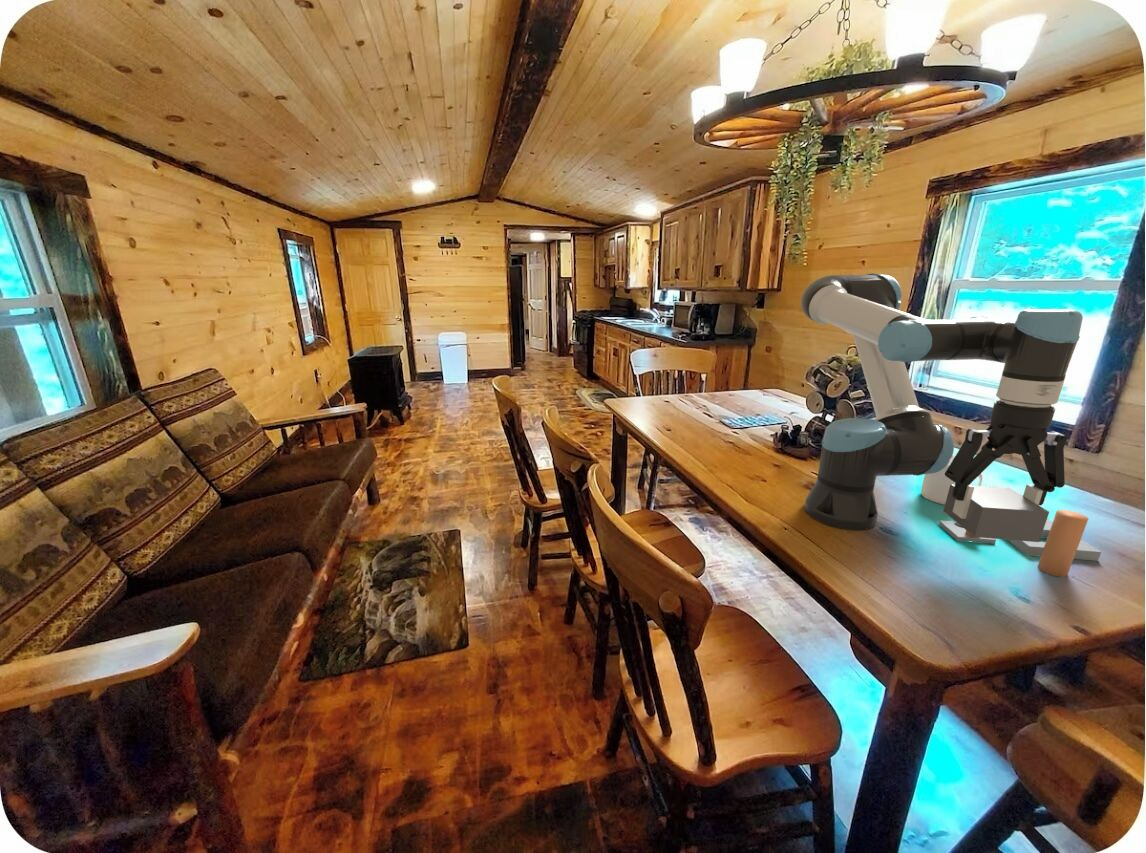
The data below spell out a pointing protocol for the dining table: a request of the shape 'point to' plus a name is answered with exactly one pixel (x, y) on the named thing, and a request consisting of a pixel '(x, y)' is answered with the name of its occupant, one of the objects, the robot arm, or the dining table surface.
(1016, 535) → the cover
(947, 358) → the robot arm
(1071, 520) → the peg
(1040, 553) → the socket board
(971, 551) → the dining table surface
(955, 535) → the board
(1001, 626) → the dining table surface
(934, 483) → the mug
